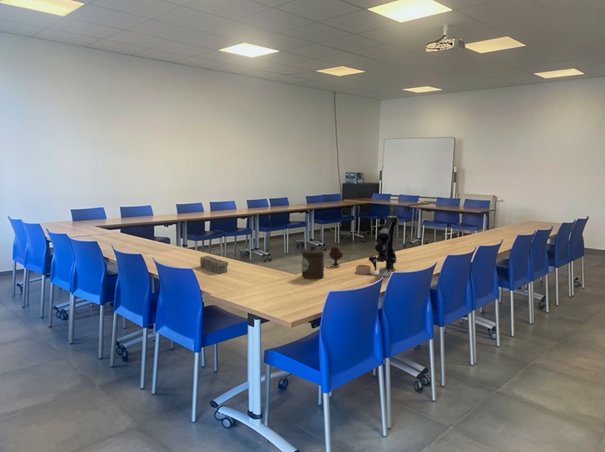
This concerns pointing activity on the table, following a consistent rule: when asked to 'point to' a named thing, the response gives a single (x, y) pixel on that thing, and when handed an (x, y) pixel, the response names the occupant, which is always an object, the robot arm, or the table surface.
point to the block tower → (213, 264)
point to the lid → (382, 272)
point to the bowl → (363, 269)
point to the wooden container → (313, 263)
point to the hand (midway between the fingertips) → (382, 271)
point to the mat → (378, 275)
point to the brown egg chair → (335, 254)
